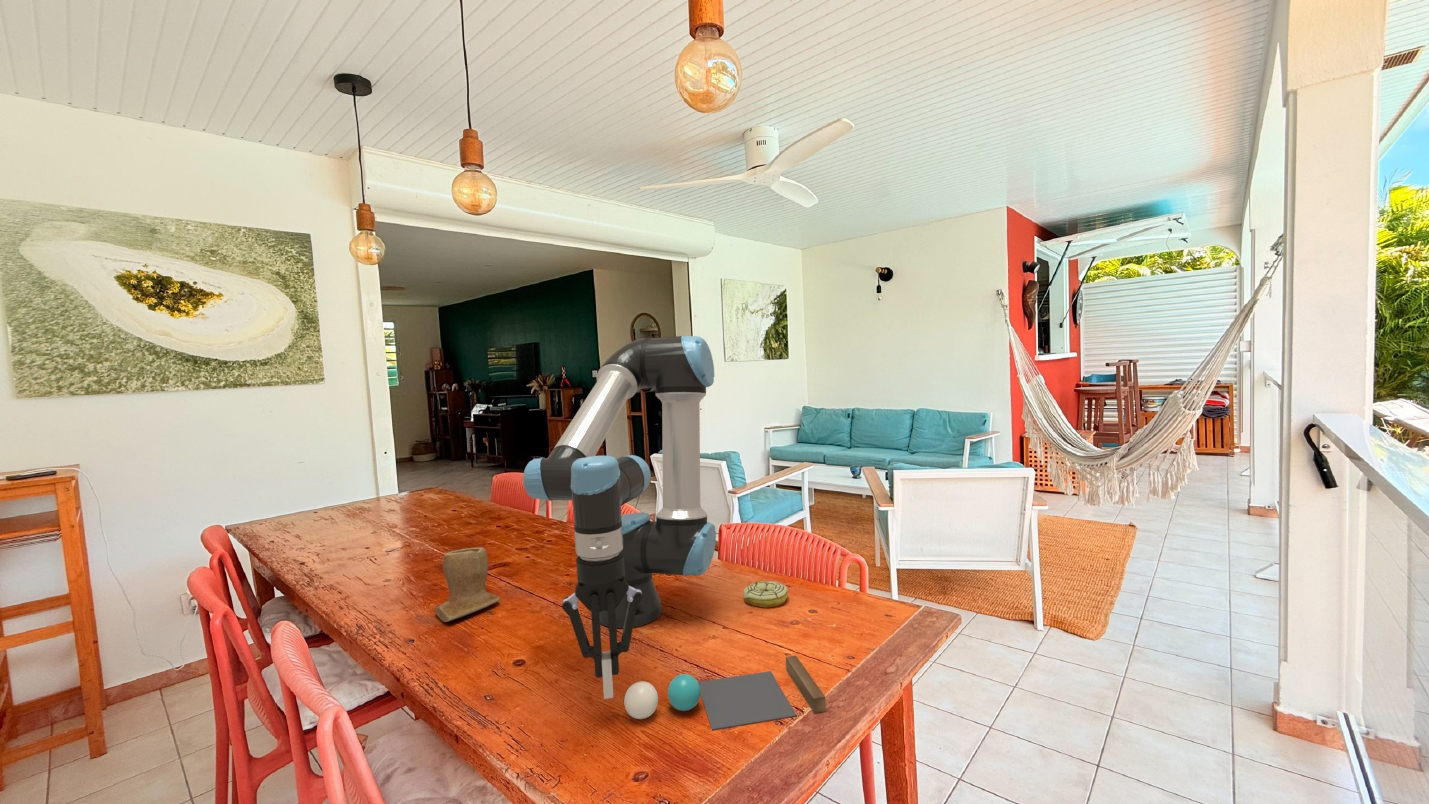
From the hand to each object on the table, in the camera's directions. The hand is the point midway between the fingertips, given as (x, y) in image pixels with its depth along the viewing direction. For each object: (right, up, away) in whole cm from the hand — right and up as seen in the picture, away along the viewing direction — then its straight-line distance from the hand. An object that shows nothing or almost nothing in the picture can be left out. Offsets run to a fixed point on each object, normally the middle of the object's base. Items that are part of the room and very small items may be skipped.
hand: (608, 693), depth 93 cm
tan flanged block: (-44, -4, +46) cm, 64 cm away
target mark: (+22, -3, +4) cm, 23 cm away
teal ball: (+12, -1, +2) cm, 13 cm away
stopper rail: (+33, -3, +6) cm, 34 cm away
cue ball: (+5, -1, 0) cm, 5 cm away
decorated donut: (+30, -1, +46) cm, 55 cm away
